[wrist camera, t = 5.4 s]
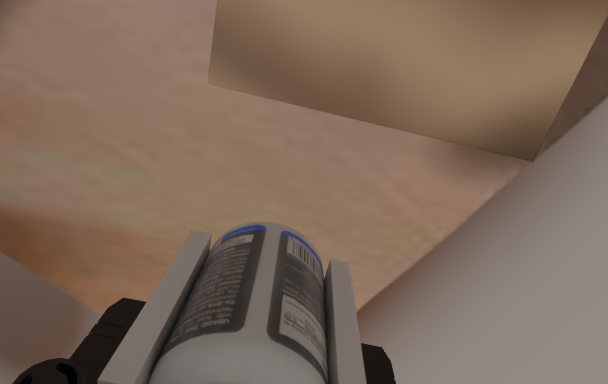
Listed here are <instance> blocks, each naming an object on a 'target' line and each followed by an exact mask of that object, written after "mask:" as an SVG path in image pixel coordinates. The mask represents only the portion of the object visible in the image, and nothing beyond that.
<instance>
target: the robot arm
mask: <svg viewBox="0 0 608 384" xmlns="http://www.w3.org/2000/svg"><path fill="white" fill-rule="evenodd" d="M211 237H212V234H211V233H206V232H201V231H196V230H192V231H191V233H190V235H189V236H188V238H187V239H186V241H185V242H184V244H183V246H182V247H181V249H180V250H179V252H178V253H177V255H176V257H175V258H174V260H173V261H172V263H171V265H170V266H169V268H168V269H167V271H166V272H165V274H164V276H163V277H162V279H161V280H160V282H159V283H158V285H157V287H156V288H155V290H154V291H153V293H152V295H151V296H150V298H149V299H148V301H147V302H144V301H138V300H133V299H128V298H122V299H121V300H119V301H118V302H116V303H115V304H113V305H112V306H110V307H109V308H108V309H107V310H106V311H105V313H104V314H103V315H102V317H101V318H100V319H99V321H98V323H97V324H95V326H94V327H93V328H92V330H91V331H90V332H89V335H88V336H86V338H85V339H84V340H83V341H82V343H81V344H80V345H79V347H78V348H77V349H76V351H75V352H74V353H73V355H72V356H71V357H70V359H64V358H57V359H51V360H46V361H43V362H41V363H38V364H36V365H33V366H31V367H30V368H29V369H28V370H26V371H24V372H23V373H22V374H20V375H19V376H18V378H17V379H16V380H15V381H14V383H13V384H149V380H150V376H151V374H152V372H153V370H154V367H155V365H156V363H157V361H158V359H159V357H160V355H161V353H162V351H163V349H164V347H165V344H166V342H167V340H168V338H169V337H170V335H171V332H172V330H173V328H174V326H175V324H176V322H177V320H178V318H179V316H180V313H181V311H182V309H183V307H184V305H185V303H186V301H187V299H188V296H189V294H190V292H191V290H192V288H193V286H194V284H195V282H196V280H197V278H198V276H199V274H200V272H201V269H202V267H203V265H204V263H205V261H206V259H207V257H208V255H209V251H210V244H211ZM324 299H325V316H326V343H327V364H328V384H396V382H395V380H394V373H393V369H392V364H391V361H390V359H389V358H388V356H387V355H386V353H385V352H384V350H383V348H382V347H378V346H372V345H368V344H362V343H361V342H360V336H359V328H358V322H357V315H356V308H355V301H354V294H353V287H352V280H351V273H350V266H349V263H348V262H343V261H339V260H334V259H330V262H329V265H328V268H327V272H326V275H325V278H324Z"/></svg>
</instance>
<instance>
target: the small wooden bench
mask: <svg viewBox="0 0 608 384" xmlns="http://www.w3.org/2000/svg"><path fill="white" fill-rule="evenodd" d="M607 16H608V0H217V8H216V16H215V25H214V33H213V41H212V50H211V58H210V67H209V75H208V84H210V85H214V86H219V87H223V88H227V89H231V90H235V91H239V92H244V93H248V94H252V95H256V96H260V97H264V98H269V99H273V100H277V101H281V102H285V103H290V104H294V105H298V106H302V107H306V108H310V109H315V110H319V111H323V112H327V113H331V114H335V115H340V116H344V117H348V118H352V119H356V120H360V121H365V122H369V123H373V124H377V125H381V126H386V127H390V128H394V129H398V130H402V131H406V132H411V133H415V134H419V135H423V136H427V137H431V138H436V139H440V140H444V141H448V142H452V143H456V144H461V145H465V146H469V147H473V148H477V149H482V150H486V151H490V152H494V153H498V154H502V155H507V156H511V157H515V158H519V159H523V160H527V161H532V162H533V161H534V159H535V157H536V155H537V153H538V151H539V149H540V147H541V146H542V144H543V142H544V140H545V138H546V136H547V134H548V132H549V130H550V128H551V126H552V124H553V122H554V120H555V118H556V116H557V114H558V112H559V110H560V108H561V106H562V104H563V102H564V100H565V98H566V96H567V94H568V92H569V90H570V88H571V86H572V84H573V83H574V81H575V79H576V77H577V75H578V73H579V71H580V69H581V67H582V65H583V63H584V61H585V59H586V57H587V55H588V53H589V51H590V49H591V47H592V45H593V43H594V41H595V39H596V37H597V35H598V33H599V31H600V29H601V27H602V25H603V23H604V21H605V20H606V18H607Z"/></svg>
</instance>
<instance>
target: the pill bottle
mask: <svg viewBox="0 0 608 384" xmlns="http://www.w3.org/2000/svg"><path fill="white" fill-rule="evenodd" d="M149 384H328V364H327V343H326V316H325V299H324V276H323V267H322V262H321V259H320V256H319V254H318V252H317V250H316V249H315V247H314V246H313V245H312V243H311V242H310V241H309V240H308V239H307V238H306V237H305V236H304V235H302V234H301V233H299V232H297V231H296V230H294V229H292V228H290V227H287V226H284V225H281V224H277V223H272V222H249V223H244V224H241V225H239V226H236V227H234V228H232V229H231V230H229V231H228V232H226V233H225V234H224V235H222V236H221V237H220V238H219V239H218V240H217V241H216V243H215V244H214V246H213V247H212V249H211V251H210V253H209V255H208V257H207V259H206V261H205V263H204V265H203V267H202V269H201V272H200V274H199V276H198V278H197V280H196V282H195V284H194V286H193V288H192V290H191V292H190V294H189V296H188V299H187V301H186V303H185V305H184V307H183V309H182V311H181V313H180V316H179V318H178V320H177V322H176V324H175V326H174V328H173V330H172V332H171V335H170V337H169V338H168V340H167V342H166V344H165V347H164V349H163V351H162V353H161V355H160V357H159V359H158V361H157V363H156V365H155V367H154V370H153V372H152V374H151V376H150V380H149Z"/></svg>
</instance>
